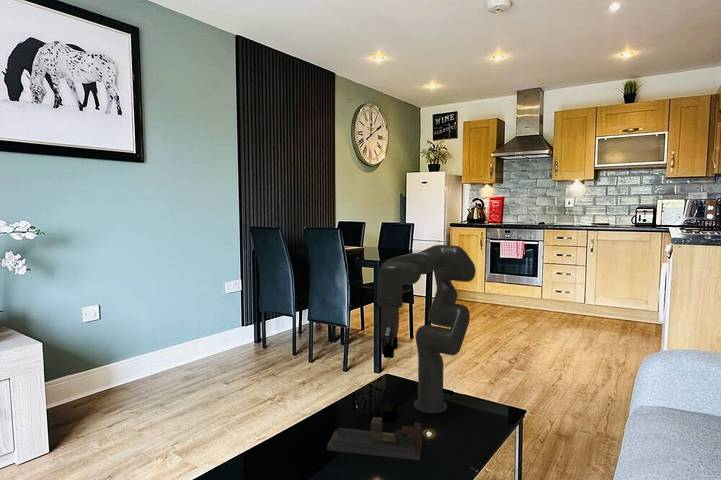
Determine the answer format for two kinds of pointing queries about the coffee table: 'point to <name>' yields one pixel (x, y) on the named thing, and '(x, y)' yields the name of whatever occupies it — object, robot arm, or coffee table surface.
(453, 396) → the coffee table surface
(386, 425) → the coffee table surface
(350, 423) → the coffee table surface
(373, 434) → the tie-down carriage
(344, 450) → the rail
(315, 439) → the coffee table surface
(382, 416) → the tape measure
